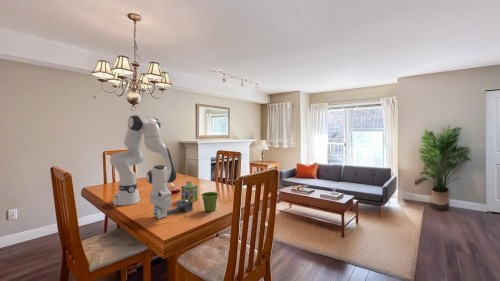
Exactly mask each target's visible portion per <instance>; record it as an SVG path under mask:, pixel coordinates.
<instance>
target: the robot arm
mask: <svg viewBox="0 0 500 281" xmlns="http://www.w3.org/2000/svg"><path fill="white" fill-rule="evenodd" d="M127 126H128V128H127V130H126V134H125V138H124V141H123V143H124V146H125V147H126V148H127V151H121V152H120V151H119V152H116V153H113V154H111V156H109V164H110V166H112V167H114V169H115V170H116V171H117V173H118V175H119V176H118V177H119V185H118V190H117V192H115V194H114V195H113V198H114V199H112V200H111V201H113V202H112V203H113V205H114V206H115V207H116V206H117V205H118V206H130V205H135V204H138V203H139V202H140V201H142V198H140V190H139V189H137V188H138V184H137V174H136V172H135V171H133V170H132V169H131V166H137V165H138V164H142V163H143V161H144V159H145V158H144V153H143V152H142V151H141V144H142V140H143V142H144V146H145V148H146V149H147V150H148V151H150V152H154V153H155V154H159V155H161V156H162V157H163V159H164V163H165V165H161V164H156V165H154V166H153V167H152V169H150V170H148V172H147V173H146V181H147V182H148V183H149V184H151V187H152V188H151V192H150V196H149V197H150V198H149V202H150V204H152V205H154V206H153V207H156V206H159V207H161V208H162V211H161V214H163V215H164V214H165V211H166V209H167V210H170V209H171V207H172V191H170V189H169V188H168V184H169V183H174V181H175V180H176V179H177V171H176V168H175V166H174V163H173V159H172V156H171V153H170V149H169V147H168V146H167V145H166V144H165V143H164V142H163V138H162V132H161V121H160V119H158V118H156V117H153V116H152V117H150V116H147V115H146V116H145V115H135V114H134V115H130V116H129V118H128V119H127ZM118 206H117V207H118Z"/></svg>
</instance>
